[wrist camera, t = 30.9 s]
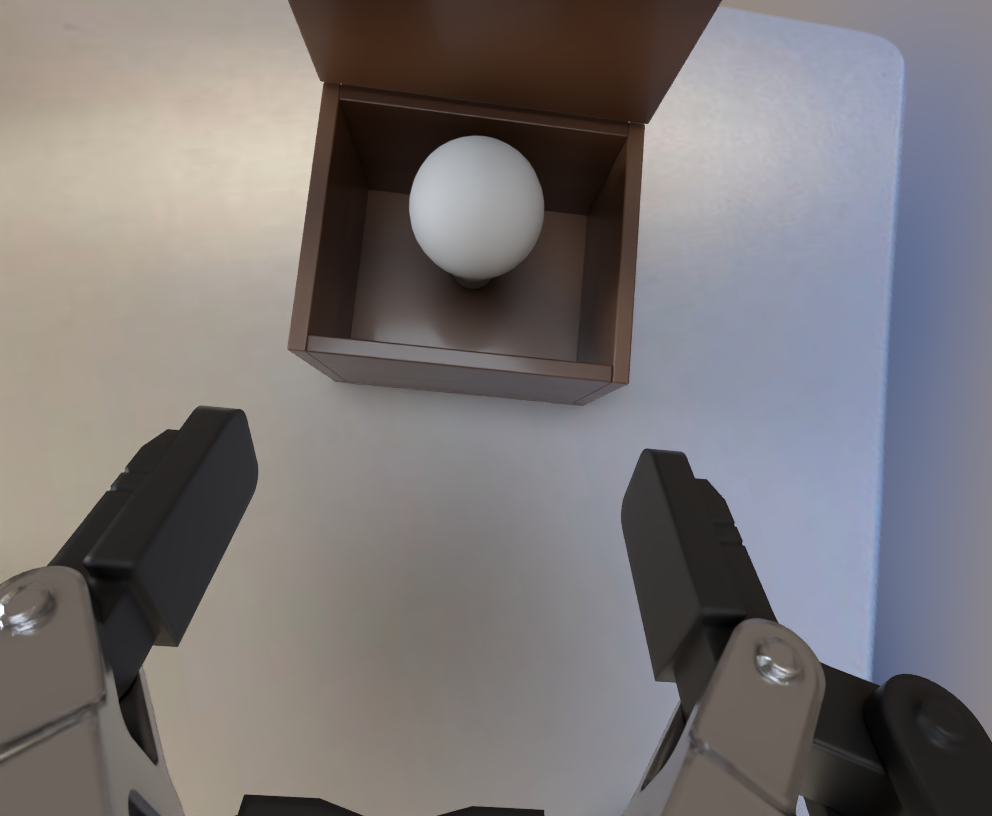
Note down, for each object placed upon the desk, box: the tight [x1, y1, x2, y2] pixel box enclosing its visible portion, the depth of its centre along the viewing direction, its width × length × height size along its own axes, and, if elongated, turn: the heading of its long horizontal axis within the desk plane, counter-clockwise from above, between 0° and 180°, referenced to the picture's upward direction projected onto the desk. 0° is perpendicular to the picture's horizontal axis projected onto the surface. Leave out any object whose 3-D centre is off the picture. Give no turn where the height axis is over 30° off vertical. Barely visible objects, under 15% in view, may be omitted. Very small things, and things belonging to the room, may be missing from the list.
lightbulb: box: [409, 135, 544, 289], centre depth 26 cm, size 6×6×11 cm
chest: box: [287, 82, 645, 406], centre depth 28 cm, size 13×15×9 cm
